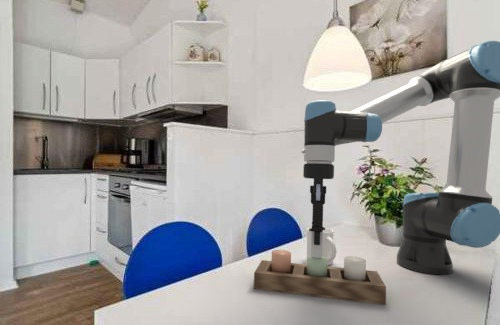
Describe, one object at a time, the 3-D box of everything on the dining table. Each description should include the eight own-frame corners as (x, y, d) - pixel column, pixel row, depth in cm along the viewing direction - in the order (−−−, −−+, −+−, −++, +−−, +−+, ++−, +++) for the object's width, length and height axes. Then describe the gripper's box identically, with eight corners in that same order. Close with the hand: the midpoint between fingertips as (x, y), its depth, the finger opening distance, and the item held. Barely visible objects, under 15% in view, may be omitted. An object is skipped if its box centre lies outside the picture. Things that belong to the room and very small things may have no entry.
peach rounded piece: (291, 267, 76) (291, 250, 76) (289, 274, 71) (290, 256, 71) (272, 265, 77) (273, 249, 77) (269, 272, 72) (270, 254, 72)
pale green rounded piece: (326, 273, 74) (326, 255, 74) (327, 280, 69) (327, 261, 69) (306, 271, 75) (307, 254, 75) (306, 278, 70) (306, 259, 70)
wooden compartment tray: (376, 287, 73) (376, 271, 73) (385, 304, 64) (386, 286, 64) (261, 274, 80) (261, 260, 80) (253, 288, 70) (254, 272, 70)
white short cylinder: (363, 274, 72) (364, 257, 72) (367, 282, 67) (367, 263, 67) (342, 272, 73) (343, 255, 73) (344, 280, 68) (345, 261, 68)
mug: (346, 268, 87) (346, 234, 87) (322, 271, 84) (323, 236, 84) (323, 256, 98) (323, 226, 98) (301, 259, 95) (302, 227, 95)
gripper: (304, 163, 80) (302, 248, 79) (302, 161, 67) (299, 263, 67) (332, 164, 78) (330, 251, 77) (335, 162, 65) (333, 266, 65)
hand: (316, 256), depth 72 cm, fingers closed
